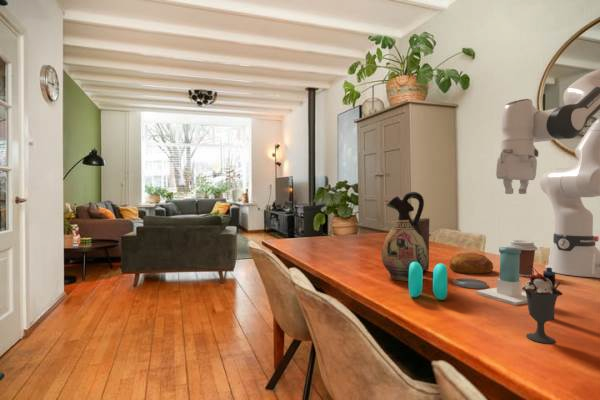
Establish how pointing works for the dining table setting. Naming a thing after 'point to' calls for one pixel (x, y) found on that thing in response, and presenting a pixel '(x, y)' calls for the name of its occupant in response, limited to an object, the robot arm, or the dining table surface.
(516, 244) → the coffee cup
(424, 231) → the brown tall cylinder
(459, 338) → the dining table surface
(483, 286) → the dish
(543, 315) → the sundae
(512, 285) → the white cube on base
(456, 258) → the brown oval lump
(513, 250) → the teal domed cylinder
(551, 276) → the vaping device
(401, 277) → the ceramic jug
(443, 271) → the donuts
